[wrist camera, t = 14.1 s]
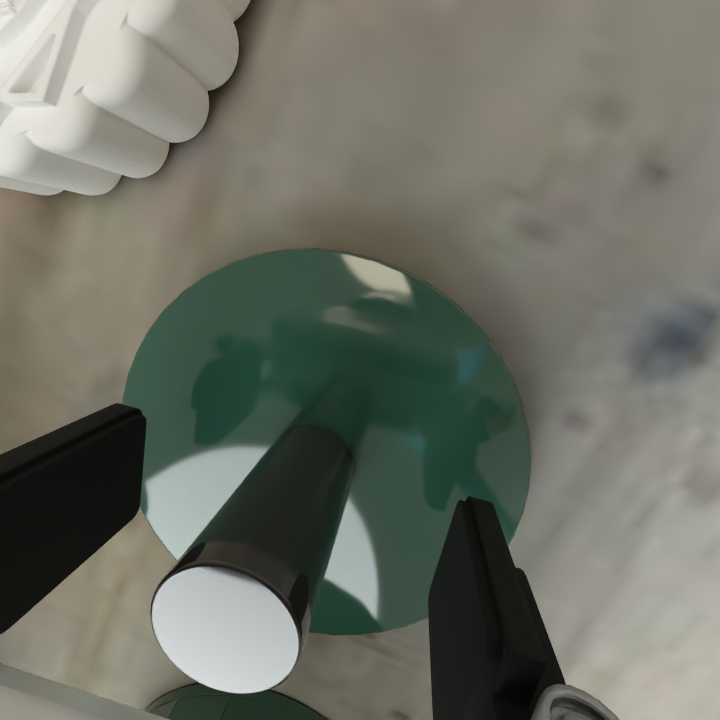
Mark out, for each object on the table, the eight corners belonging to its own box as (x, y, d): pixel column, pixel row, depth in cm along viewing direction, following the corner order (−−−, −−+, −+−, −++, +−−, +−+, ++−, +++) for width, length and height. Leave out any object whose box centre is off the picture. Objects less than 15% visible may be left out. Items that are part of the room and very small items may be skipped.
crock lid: (485, 201, 10) (602, 89, 4) (545, 592, 13) (678, 923, 6) (94, 300, 13) (-243, 334, 6) (207, 616, 15) (50, 880, 9)
